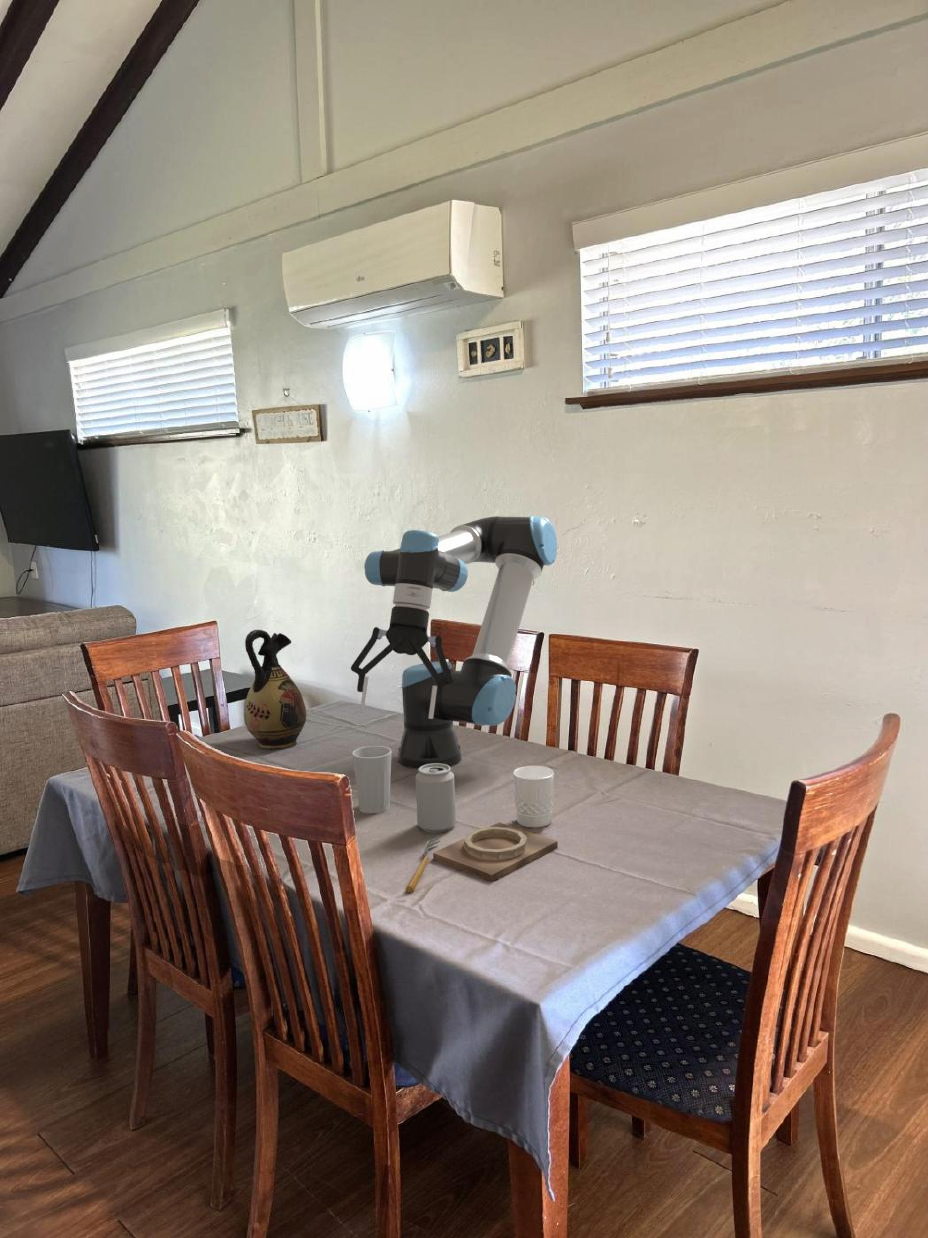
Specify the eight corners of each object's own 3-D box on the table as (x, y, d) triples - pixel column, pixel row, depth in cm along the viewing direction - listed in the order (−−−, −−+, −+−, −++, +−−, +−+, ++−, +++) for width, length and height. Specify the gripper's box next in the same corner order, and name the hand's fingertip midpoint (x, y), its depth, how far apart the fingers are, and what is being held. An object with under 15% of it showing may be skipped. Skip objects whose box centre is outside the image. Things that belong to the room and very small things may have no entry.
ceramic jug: (287, 731, 246) (279, 621, 241) (319, 743, 235) (312, 627, 230) (229, 746, 235) (220, 630, 230) (260, 759, 224) (252, 637, 219)
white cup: (558, 815, 183) (558, 767, 181) (549, 831, 175) (548, 780, 174) (520, 812, 185) (519, 764, 184) (509, 826, 178) (508, 777, 176)
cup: (387, 816, 185) (385, 758, 183) (349, 814, 187) (346, 757, 185) (398, 801, 193) (396, 746, 191) (361, 800, 195) (359, 745, 193)
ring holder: (499, 828, 177) (499, 814, 177) (557, 847, 168) (557, 833, 167) (433, 859, 164) (432, 844, 164) (492, 881, 155) (491, 866, 155)
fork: (416, 886, 151) (441, 834, 171) (405, 883, 152) (432, 832, 171) (413, 900, 152) (439, 847, 171) (402, 897, 152) (429, 844, 171)
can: (462, 822, 181) (460, 763, 179) (445, 836, 174) (443, 776, 172) (428, 817, 184) (426, 759, 182) (410, 831, 177) (408, 771, 175)
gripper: (348, 597, 179) (332, 705, 177) (474, 614, 181) (460, 722, 179) (349, 601, 187) (333, 706, 184) (470, 618, 189) (457, 722, 187)
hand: (396, 714), depth 182 cm, fingers open, 13 cm apart
